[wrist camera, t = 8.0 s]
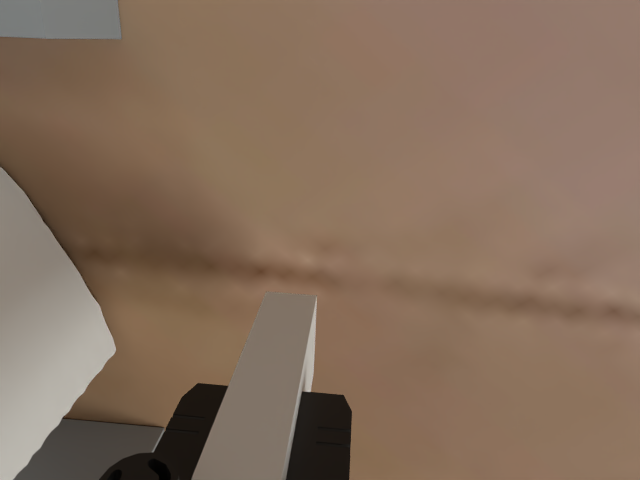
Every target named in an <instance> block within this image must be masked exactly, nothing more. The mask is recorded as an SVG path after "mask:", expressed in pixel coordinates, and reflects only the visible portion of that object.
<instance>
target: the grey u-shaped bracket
mask: <svg viewBox="0 0 640 480" xmlns="http://www.w3.org/2000/svg"><path fill="white" fill-rule="evenodd" d="M0 36H2V37H24V38H46V39H122V37H121V28H120V18H119V9H118V0H0ZM163 433H164V428H160V427H149V426H138V425H127V424H116V423H105V422H94V421H83V420H72V419H61V421H60V423H59V425H58V426H57V427H56V428H55V429H53V430H52V431H51V432H50V434H49V435H48V436H47V438H46V439H45V441H44V443H43V444H42V446H41V448H40V449H39V450H38V451H37V452H35V453H34V454H33V455H32V457H31V459H30V461H29V463H28V465H27V466H25V467H24V468H23V469H22V470H21V471H20V472H19V473H18V474H17V475H16V477H15V478H14V479H13V480H99V479H100V478H101V476H102V475H103V474H104V473H105V472H106V471H107V469H108V468H109V467H111V466H112V465H114V464H115V463H117V462H118V461H120V460H121V459H123V458H126V457H129V456H132V455H135V454H138V453H151V452H154V450H155V448H156V446H157V445H158V443H159V441H160V439H161V437H162V435H163Z"/></svg>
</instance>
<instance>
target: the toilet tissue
mask: <svg viewBox="0 0 640 480" xmlns="http://www.w3.org/2000/svg"><path fill="white" fill-rule="evenodd" d="M115 351H116V348H115V344H114V341H113V338H112V336H111V333H110V331H109V329H108V327H107V325H106V323H105V320H104V317H103V315H102V311H101V308H100V305H99V304H98V303H97V301H96V300H95V299H94V298H93V296H92V295H91V293H90V291H89V290H88V288H87V286H86V285H85V283H84V281H83V279H82V277H81V275H80V273H79V272H78V270H77V269H76V267H75V266H74V264H73V263H72V261H71V260H70V258H69V257H68V256H67V254H66V253H65V251H64V250H63V249H62V247H61V246H60V244H59V243H58V242H57V240H56V239H55V237H54V235H53V234H52V232H51V231H50V229H49V227H48V226H47V225H46V224H45V223H44V222H43V220H42V218H41V216H40V215H39V213H38V212H37V210H36V209H35V207H34V206H33V204H32V203H31V201H30V200H29V198H28V197H27V195H26V194H25V193H24V191H23V190H22V189H21V188H20V187H19V186H18V185H17V184H16V183H15V182H14V181H13V179H12V178H11V177H10V176H9V175H8V174H7V173H6V172H5V171H4V170H3V169H2V168H1V167H0V480H13V479H14V478H15V477H16V475H17V474H18V473H19V472H20V471H21V470H22V469H23V468H24V467H25V466H27V465H28V463H29V461H30V459H31V457H32V455H33V454H34V453H35V452H37V451H38V450H39V449H40V448H41V446H42V444H43V443H44V441H45V439H46V438H47V436H48V435H49V434H50V432H51V431H52V430H53V429H55V428H56V427H57V426H58V425H59V423H60V421H61V419H62V417H63V416H64V415H66V414H67V413H68V412H69V411H70V409H71V407H72V405H73V403H74V402H75V401H76V400H77V398H78V397H79V396H81V395H82V394H83V393H84V392H85V390H86V388H87V386H88V384H89V383H90V382H91V381H92V379H93V378H94V377H95V376H96V374H98V373H99V372H100V371H101V370H102V369H103V367H104V364H105V363H106V362H107V360H108V359H109V358H110V357H112V356H113V355H114V353H115Z"/></svg>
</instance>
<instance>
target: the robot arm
mask: <svg viewBox="0 0 640 480" xmlns="http://www.w3.org/2000/svg"><path fill="white" fill-rule="evenodd" d="M316 304H317V295H305V294H292V293H279V292H266V293H265V296H264V298H263V301H262V303H261V306H260V308H259V311H258V313H257V316H256V318H255V321H254V323H253V326H252V328H251V331H250V333H249V336H248V338H247V341H246V343H245V346H244V348H243V351H242V353H241V356H240V358H239V361H238V363H237V366H236V368H235V371H234V373H233V376H232V378H231V381H230V383H229V386H223V385H212V384H201V383H198V384H196V385H195V386H194V387H193V388H192V389H191V390H190V391H188V392H187V393H186V394H185V395H184V396H183V397H182V398H181V400H180V402H179V404H178V406H177V408H176V410H175V412H174V414H173V418H172V417H171V419H170V421H169V423H168V425H167V427H166V431H165V432H164V433H163V435H162V437H161V439H160V441H159V443H158V445H157V446H156V448H155V450H154V452H151V453H138V454H135V455H132V456H129V457H126V458H123V459H121V460H120V461H118V462H117V463H115V464H114V465H112V466H111V467H109V468H108V469H107V471H106V472H105V473H104V474H103V475H102V476H101V478H100V479H99V480H349V469H350V444H351V418H352V411H351V409H350V407H349V405H348V403H347V401H346V399H345V397H344V395H337V394H326V393H315V392H311V386H312V379H313V373H314V353H315V328H316Z"/></svg>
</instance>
